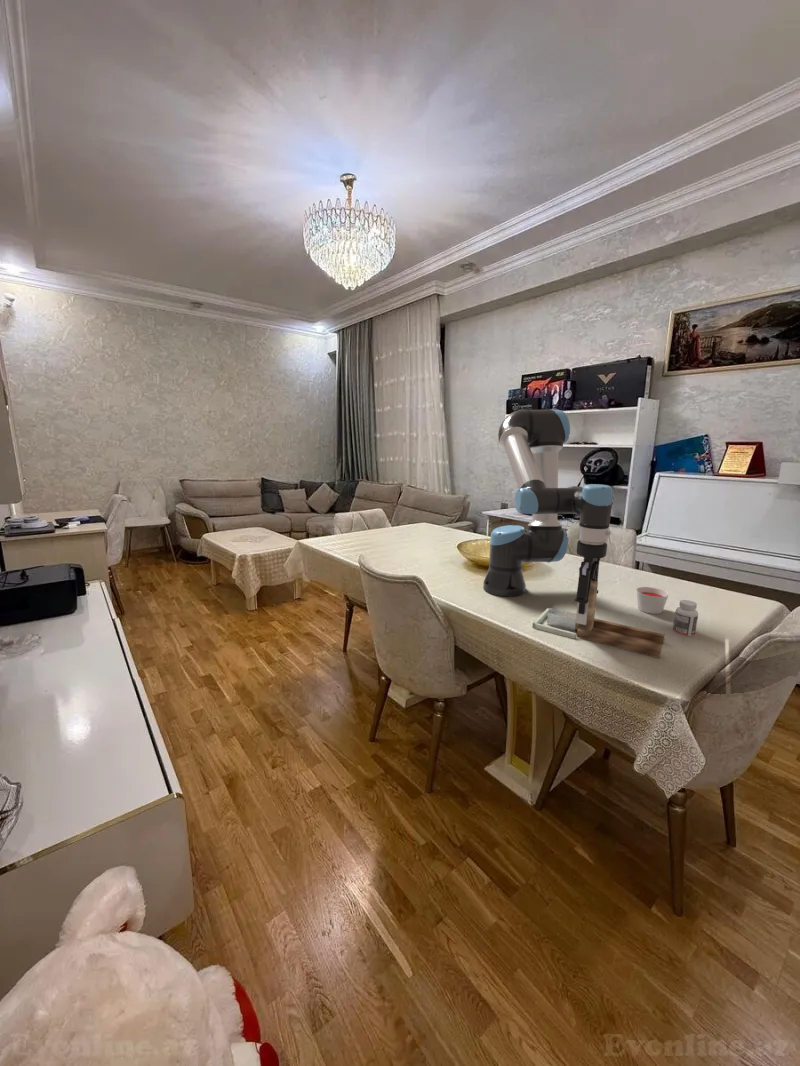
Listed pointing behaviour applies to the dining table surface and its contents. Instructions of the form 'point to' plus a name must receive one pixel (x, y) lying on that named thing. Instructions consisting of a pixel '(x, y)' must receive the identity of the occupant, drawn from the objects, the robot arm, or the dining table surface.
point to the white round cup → (651, 599)
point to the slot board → (624, 637)
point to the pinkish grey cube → (568, 620)
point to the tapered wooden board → (590, 608)
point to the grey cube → (554, 617)
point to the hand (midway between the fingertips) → (584, 618)
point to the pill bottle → (686, 618)
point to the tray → (551, 629)
